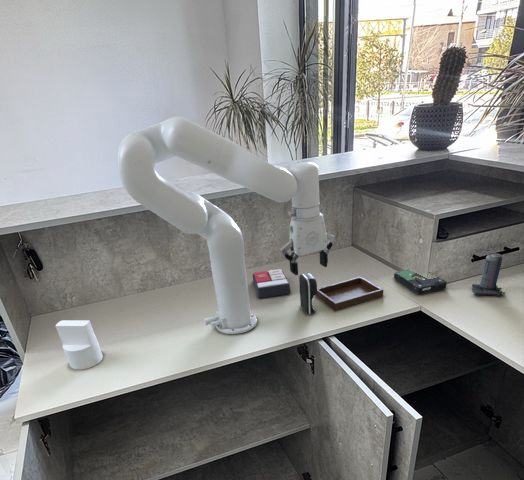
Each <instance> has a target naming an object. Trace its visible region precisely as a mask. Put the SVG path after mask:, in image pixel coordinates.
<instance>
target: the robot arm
mask: <svg viewBox="0 0 524 480" xmlns="http://www.w3.org/2000/svg"><path fill="white" fill-rule="evenodd" d="M174 157H178V158H180V159H182V160H183V161H186V162H189V163H191V164H192V165H196V166H198V167H200V168H202V169H204V170H207V171H209V172H211V173H212V174H215V175H217V176H220V177H221V178H223V179H225V180H227V181H229V182H232V183H235V184H237V185H239V186H241V187H244V188H246V189H248V190H250V191H252V192H254V193H256V194H258V195H260V196H263V197H265V198H267V199H269V200H272V201H274V202H277V203H281V204H282V203H288V202H289V201H291V210H288V211H287V214H288V217H291V218H290V222H289V241H287V242H286V243H285V244H284V245H283V246H281V247H280V248H279V251H280V253H281V254H282V256H283V258H285V259H287V260H288V261H289V270H290V271H289V272H291V274H293V275H294V276H299V265H298V264H299V263H298V261H297V259H298V258H299V257H303V256H307V255H310V254H314V253H318V252H319V265H321V266H322V267H324V268H327V267H328V262H329V260H328V259H329V257H328V254H330V250H331V249H332V247H333V245H334V242H335V238H336V236H335V235H334V234H331V233H328V232H327V227H326V222H325V221H326V220H325V218H324V214H323V213H321V204H320V203H321V202H320V180H319V179H320V176H319V166H318V165H317V164H316V163H315V162H312V161H305V162H298V163H295V164H291V165H289V164H288V165H275V164H273V163H270V162H268V161H266V160H264V159H262V158H261V157H259V156H257V155H255V154H253V153H252V152H250V151H249V150H247V149H246V148H244V147H243V146H241V145H240V144H238V143H236V142H235V141H233V140H230V139H228V138H226V137H224V136H222V135H219V134H218V133H216V132H214V131H212V130H210V129H208V128H206V127H204V126H201V125H200V124H198V123H196V122H194V121H192V120H189V119H188V118H186V117H184V116H180V115H179V116H178V115H177V116H172V117H170V118H167V119H164V120H163V121H161V122H157V123H155V124H152V125H149V126H147V127H144V128H140V129H139V130H138V129H137V130H136V131H132V132H131V133H130V132H129V134H127V135H126V136H124V138H122V140H121V142H120V144H119V146H118V151H117V171H118V175H119V177H118V178H119V180H120V182H121V185H122V186H123V188H124V190H125V191H126V193H127V194H128V195H129V196H130V197H131V198H132V199H133V200H134V201H135V202H136V203H138V204H139V205H141V206H143V208H145V209H147V210H148V211H150V212H152V213H154V214H155V215H157V217H159V218H160V219H162V220H164V221H166V222H167V223H169V224H171V225H172V226H173V227H175V228H176V229H178V230H179V231H180V232H183V233H185V234H188V235H198V236H199V237H202V238H203V239H204V240H205V241H206V245H207V248H208V255H209V261H210V268H211V269H210V270H211V276H212V281H213V287H214V293H215V299H216V304H217V310H216V311H215V314H214V315H213V316H211V317H206V318H203V323H204V325H205V326H209V325H210V326H211V328H213V327H215V328H216V330H217V331H218V332H220V333H222V334H225V335H238V334H243V333H247V332H249V331H250V330H253V328H255V327H256V326H257V323H258V319H257V316H256V315H255V314H253V313H252V312H251V305H250V303H251V302H250V295H249V285H248V278H247V270H246V260H245V241H244V236H243V233H242V231H241V228H240V227H239V226H238V224H237V223H236V222H235V221H234V219H233V218H232V217H231V216H230V215H229V214H228V213H227V212H225V211H223V210H222V209H221V208H220V207H217V205H214V204H213V203H212V202H210V201H209V200H207V199H206V198H205V197H203V196H201V195H200V194H198V193H197V192H196V191H195V192H194V191H192V190H189V189H188V190H186V189H185V190H182V189H180V188H179V187H177V186H176V185H174V184H173V183H172V182H170V181H169V180H167V179H165V178H164V177H162V176H161V175H159V174H158V172H157V170H156V167H155V166H156V164H158V163H161V162H163V161H167V160H169V159H172V158H174ZM288 250H290V253H288Z"/></svg>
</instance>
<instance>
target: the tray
mask: <svg viewBox="0 0 524 480" xmlns="http://www.w3.org/2000/svg"><path fill="white" fill-rule="evenodd" d="M314 296H315V298H317V299H318V300H319V301H321V302H323V303H324V304H325V305H327V307H329V308H330V309H332V310H333V311H334V312H337V311H340V310H344V309H348V308H351V307H354V306H355V307H356V306H358V305H362V304H364V303H369V302H371V301H375V300H377V299H380V298H383V297H384V288H381V287H380V286H379V285H376V284H375V283H373V282H371V281H369V280H367V279H366V278H364V277H363V276H357V277H353V278H349V279H346V280H342V281H339V282H336V283H335V282H334V283H332V284H328V285H325V286H321V287H317V295H314Z"/></svg>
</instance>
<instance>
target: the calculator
mask: <svg viewBox="0 0 524 480" xmlns="http://www.w3.org/2000/svg"><path fill="white" fill-rule="evenodd" d="M252 282H253V286H254V288H255V291H256V296H257V298H258V299H264V298H271V297H277V296H278V297H279V296H285V295H290V294H291V284H290V282H289V279H288V278H287V276H286V274H285V272H284V271H283V269H281V268H277V269H276V268H275V269H271V270H270V269H269V270H268V271H267V270H264V271H263V270H262V271H256V272H253V273H252Z"/></svg>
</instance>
